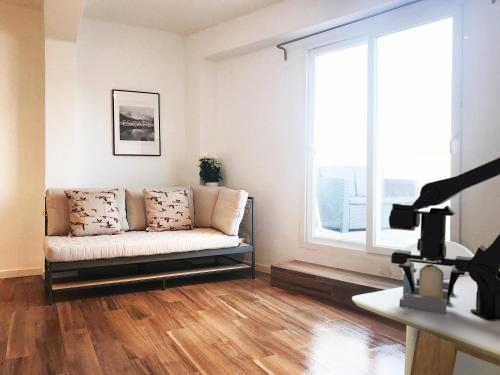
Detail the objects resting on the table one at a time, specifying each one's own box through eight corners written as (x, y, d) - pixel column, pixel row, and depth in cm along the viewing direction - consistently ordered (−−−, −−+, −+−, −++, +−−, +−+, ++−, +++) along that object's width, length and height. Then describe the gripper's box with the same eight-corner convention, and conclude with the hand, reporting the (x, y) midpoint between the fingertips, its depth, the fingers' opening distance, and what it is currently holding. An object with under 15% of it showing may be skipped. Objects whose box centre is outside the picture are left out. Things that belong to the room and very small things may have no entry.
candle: (446, 308, 105) (447, 268, 104) (423, 308, 105) (424, 267, 105) (436, 302, 110) (438, 263, 110) (415, 301, 110) (416, 262, 110)
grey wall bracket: (445, 314, 100) (446, 288, 100) (394, 305, 106) (395, 281, 106) (453, 293, 119) (454, 271, 119) (410, 287, 125) (410, 266, 125)
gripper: (476, 232, 109) (474, 293, 110) (400, 226, 119) (398, 283, 119) (474, 237, 100) (472, 304, 100) (391, 230, 109) (389, 291, 109)
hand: (430, 294), depth 107 cm, fingers open, 8 cm apart
